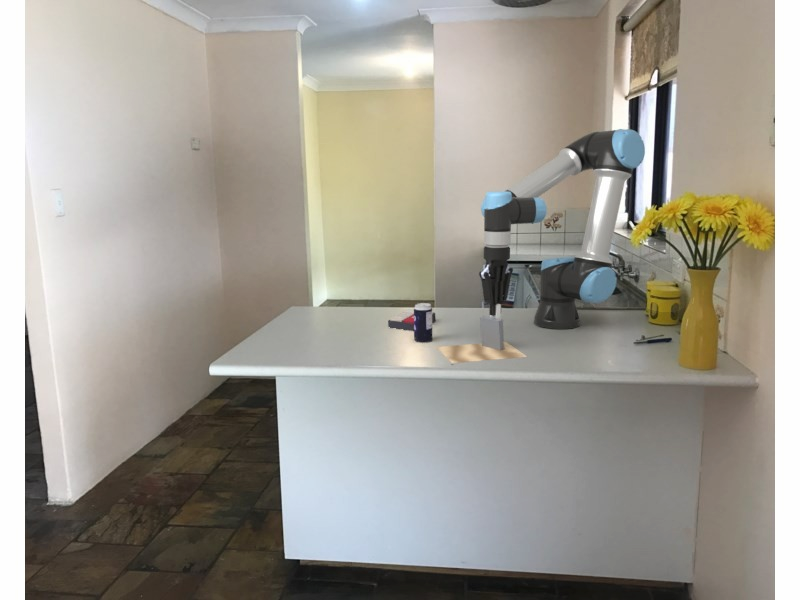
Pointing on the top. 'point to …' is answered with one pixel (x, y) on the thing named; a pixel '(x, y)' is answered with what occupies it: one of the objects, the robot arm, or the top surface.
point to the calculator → (405, 320)
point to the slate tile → (492, 332)
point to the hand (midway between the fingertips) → (495, 325)
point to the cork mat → (478, 353)
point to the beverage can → (423, 322)
